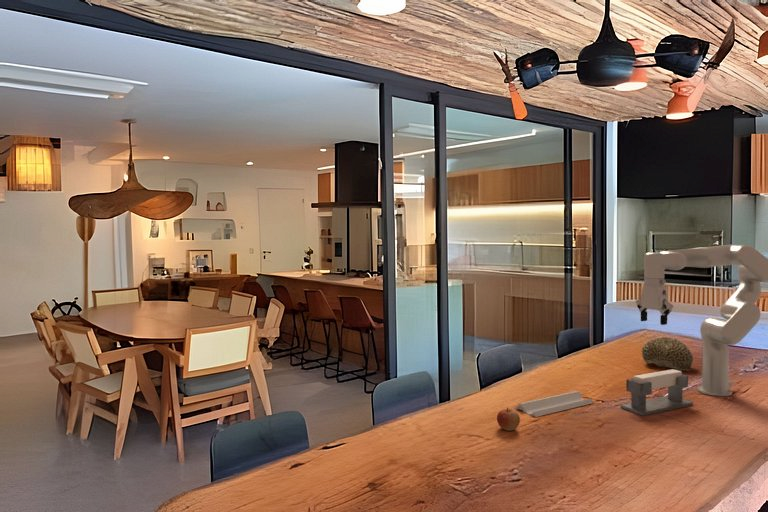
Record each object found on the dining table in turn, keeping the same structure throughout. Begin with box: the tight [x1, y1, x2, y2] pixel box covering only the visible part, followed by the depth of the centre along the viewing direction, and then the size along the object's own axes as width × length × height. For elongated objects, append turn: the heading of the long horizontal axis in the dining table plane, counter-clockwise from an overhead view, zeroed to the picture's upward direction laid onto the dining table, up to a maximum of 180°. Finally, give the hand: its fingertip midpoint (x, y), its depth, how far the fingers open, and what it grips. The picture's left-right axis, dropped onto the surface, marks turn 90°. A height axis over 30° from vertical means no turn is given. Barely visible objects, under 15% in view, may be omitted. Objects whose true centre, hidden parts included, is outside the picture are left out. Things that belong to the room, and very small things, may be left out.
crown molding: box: [513, 390, 595, 418], centre depth 219 cm, size 31×12×4 cm, turn 119°
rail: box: [633, 368, 683, 390], centre depth 216 cm, size 22×4×5 cm, turn 114°
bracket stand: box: [620, 373, 694, 417], centre depth 216 cm, size 28×10×12 cm, turn 114°
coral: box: [641, 336, 694, 372], centre depth 277 cm, size 23×18×15 cm
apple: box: [496, 407, 521, 432], centre depth 194 cm, size 8×8×8 cm
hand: (653, 322), depth 231 cm, fingers open, 9 cm apart
